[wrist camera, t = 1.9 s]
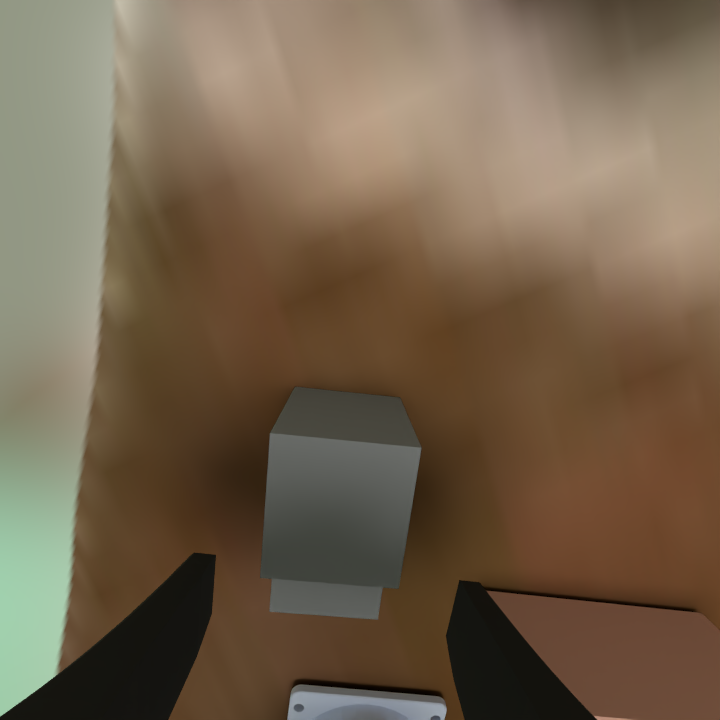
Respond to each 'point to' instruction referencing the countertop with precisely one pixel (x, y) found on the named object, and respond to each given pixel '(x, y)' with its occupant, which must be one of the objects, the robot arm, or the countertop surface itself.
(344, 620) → the countertop surface
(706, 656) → the door
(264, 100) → the countertop surface
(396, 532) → the block
